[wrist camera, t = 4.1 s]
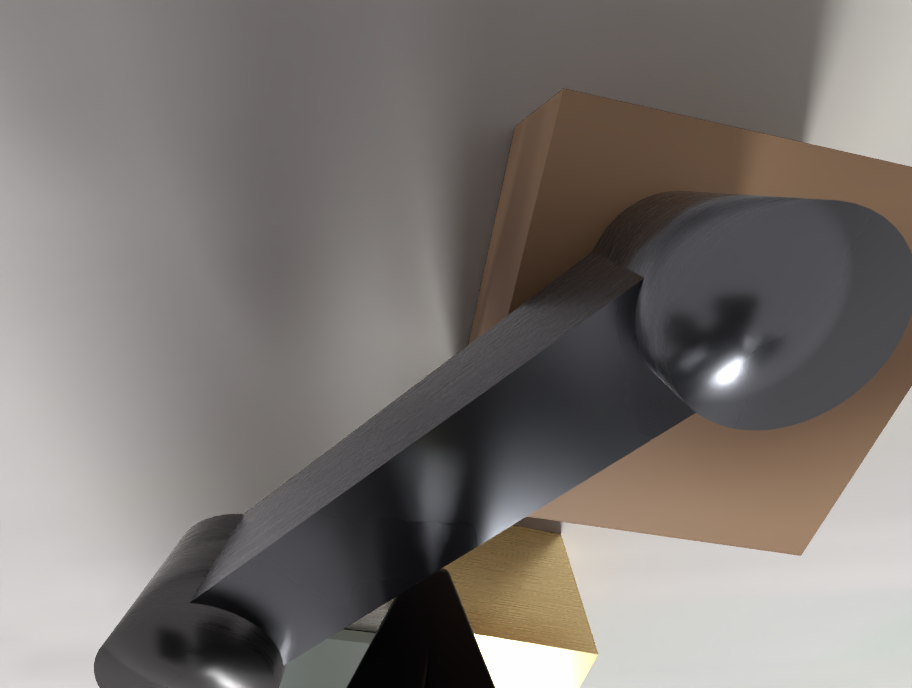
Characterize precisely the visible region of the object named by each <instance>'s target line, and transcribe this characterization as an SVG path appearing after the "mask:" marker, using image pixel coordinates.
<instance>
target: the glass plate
mask: <svg viewBox="0 0 912 688" xmlns="http://www.w3.org/2000/svg"><path fill="white" fill-rule="evenodd" d="M375 634H376V633H370V632H362V631H353V630H344V629H342V630H341V631H339V632H337V633H336V634H334V635H333V636H331V637H329V638H328V639H326V640H324V641H323V642H321V643H320V644H318V645H316V646H315V647H313V648H311V649H310V650H308V651H306V652H305V653H303V654H302V655H300V656H298V657H297V658H295V659H293V660H292V661H290V662H289V663H288V664H287V667H286V670H285V672H284V675H283V678H282V681H281V684H280V687H279V688H347V686H348V684H349V682H350V680H351V678H352V676H353V675H354V673H355V671H356V669H357V667H358V665H359V663H360V662H361V660H362V658H363V656H364V654H365V652H366V650H367V649H368V647H369V645H370V643H371V641H372V639H373V637H374V636H375Z"/></svg>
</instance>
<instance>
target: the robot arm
mask: <svg viewBox="0 0 912 688" xmlns="http://www.w3.org/2000/svg"><path fill="white" fill-rule="evenodd" d="M347 688H496V687H495V684H494V682H493V680H492V677H491V675H490V672H489V670H488V667H487V665H486V662H485V660H484V657H483V655H482V652H481V650H480V647H479V645H478V642H477V640H476V637H475V635H474V632H473V630H472V627H471V625H470V622H469V620H468V618H467V615H466V613H465V610H464V608H463V605H462V603H461V600H460V598H459V595H458V593H457V590H456V588H455V585H454V583H453V580H452V578H451V575H450V573H449V572H448V570H446V569H444V568H442V569H440V570H439V571H437V572H435V573H434V574H432V575H430V576H429V577H427V578H426V579H424V580H422V581H421V582H419V583H417V584H416V585H414V586H412V587H411V588H409V589H408V590H406V591H404V592H403V593H401V594H399V595H398V596H396V597H395V599H394V600H393V602H392V604H391V606H390V608H389V610H388V611H387V613H386V615H385V617H384V619H383V621H382V623H381V624H380V626H379V628H378V630H377V632H376V634H375V636H374V637H373V639H372V641H371V643H370V645H369V647H368V649H367V650H366V652H365V654H364V656H363V658H362V660H361V662H360V663H359V665H358V667H357V669H356V671H355V673H354V675H353V676H352V678H351V680H350V682H349V684H348V686H347Z"/></svg>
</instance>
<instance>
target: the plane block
mask: <svg viewBox="0 0 912 688" xmlns="http://www.w3.org/2000/svg"><path fill="white" fill-rule="evenodd" d="M668 191H694V192H710V193H726V194H742V195H758V196H775V197H791V198H807V199H823V200H840V201H845V202H850V203H855V204H858V205H861V206H864V207H867V208H869V209H872V210H873V211H875V212H877V213H878V214H880V215H882V216H884V217H885V218H886V219H887V220H888V221H889V222H891V223H892V224H893V225H894V226H895V227H896V228H897V230H898V231H899V232H900V233H901V235H902V236H903V237H904V239H905V241H906V243H907V245H908V247H909V249H910V251H911V254H912V167H910V166H905V165H901V164H897V163H892V162H888V161H883V160H879V159H874V158H870V157H865V156H861V155H857V154H852V153H848V152H843V151H839V150H834V149H830V148H826V147H821V146H817V145H812V144H808V143H803V142H799V141H795V140H790V139H786V138H781V137H777V136H772V135H768V134H764V133H759V132H755V131H750V130H746V129H741V128H737V127H733V126H728V125H724V124H719V123H715V122H710V121H706V120H701V119H697V118H693V117H688V116H684V115H679V114H675V113H670V112H666V111H662V110H657V109H653V108H648V107H644V106H639V105H635V104H631V103H626V102H622V101H617V100H613V99H608V98H604V97H600V96H595V95H591V94H586V93H582V92H577V91H573V90H569V89H562V90H561V91H560V92H558V93H557V94H556V95H555V96H553V97H552V98H551V99H550V100H548V101H547V102H546V103H544V104H543V105H542V106H541V107H539V108H538V109H537V110H535V111H534V112H533V113H532V114H530V115H529V116H528V117H527V118H525V119H524V120H523V121H521V122H520V123H519V124H518V125H516V126H515V129H514V134H513V138H512V143H511V148H510V152H509V157H508V161H507V166H506V171H505V175H504V180H503V185H502V189H501V194H500V199H499V203H498V208H497V212H496V217H495V222H494V226H493V231H492V236H491V240H490V245H489V250H488V254H487V259H486V263H485V268H484V273H483V277H482V282H481V287H480V291H479V296H478V301H477V305H476V310H475V315H474V319H473V324H472V328H471V333H470V338H469V342H468V345H469V344H471V343H472V342H473V341H474V340H476V339H477V338H478V337H480V336H481V335H482V334H484V333H485V332H486V331H488V330H489V329H490V328H492V327H493V326H494V325H496V324H497V323H498V322H500V321H501V320H502V319H504V318H505V317H506V316H508V315H509V314H510V313H512V312H513V311H514V310H516V309H517V308H518V307H520V306H521V305H522V304H524V303H525V302H526V301H528V300H529V299H530V298H532V297H533V296H534V295H536V294H537V293H538V292H540V291H541V290H542V289H544V288H545V287H546V286H547V285H549V284H550V283H551V282H553V281H554V280H555V279H557V278H558V277H559V276H561V275H562V274H563V273H565V272H566V271H567V270H569V269H570V268H571V267H573V266H574V265H575V264H577V263H578V262H579V261H581V260H582V259H583V258H585V257H586V256H587V255H589V254H590V253H591V252H593V251H594V248H595V246H596V244H597V242H598V240H599V238H600V237H601V235H602V234H603V232H604V231H605V229H606V228H607V227H608V225H609V224H610V223H611V222H612V221H613V220H614V219H615V218H616V217H617V216H618V215H619V214H620V213H622V212H623V211H624V210H625V209H627V208H628V207H630V206H631V205H633V204H634V203H636V202H638V201H640V200H642V199H644V198H646V197H649V196H652V195H654V194H658V193H663V192H668ZM911 386H912V313H911V317H910V320H909V323H908V325H907V327H906V330H905V332H904V334H903V336H902V338H901V340H900V342H899V344H898V345H897V347H896V349H895V350H894V352H893V353H892V355H891V356H890V358H889V359H888V360H887V362H886V363H885V364H884V366H883V367H882V368H881V369H880V370H879V371H878V372H877V373H876V375H875V376H874V377H873V378H872V379H871V380H870V381H869V382H868V383H866V384H865V385H864V386H863V387H862V388H861V389H860V390H859V391H857V392H856V393H855V394H853V395H852V396H851V397H850V398H848V399H847V400H845V401H844V402H842V403H841V404H839V405H838V406H836V407H834V408H833V409H831V410H829V411H827V412H825V413H823V414H821V415H819V416H817V417H815V418H812V419H810V420H807V421H805V422H802V423H798V424H795V425H792V426H788V427H783V428H778V429H772V430H760V431H756V430H740V429H733V428H729V427H725V426H722V425H718V424H716V423H714V422H711V421H709V420H707V419H705V418H704V417H702V416H701V415H699V414H697V413H695V414H693V415H691V416H690V417H688V418H687V419H685V420H683V421H682V422H680V423H678V424H677V425H675V426H674V427H672V428H670V429H669V430H667V431H665V432H664V433H662V434H660V435H659V436H657V437H656V438H654V439H652V440H651V441H649V442H647V443H646V444H644V445H643V446H641V447H639V448H638V449H636V450H634V451H633V452H631V453H629V454H628V455H626V456H625V457H623V458H621V459H620V460H618V461H616V462H615V463H613V464H612V465H610V466H608V467H607V468H605V469H603V470H602V471H600V472H598V473H597V474H595V475H594V476H592V477H590V478H589V479H587V480H585V481H584V482H582V483H581V484H579V485H577V486H576V487H574V488H572V489H571V490H569V491H567V492H566V493H564V494H563V495H561V496H559V497H558V498H556V499H554V500H553V501H551V502H550V503H548V504H546V505H545V506H543V507H541V508H540V509H538V510H536V511H535V512H533V513H532V514H530V515H528V516H527V517H533V518H540V519H547V520H554V521H561V522H568V523H575V524H582V525H589V526H596V527H603V528H610V529H617V530H624V531H631V532H638V533H645V534H652V535H659V536H666V537H673V538H680V539H687V540H694V541H701V542H708V543H715V544H722V545H729V546H736V547H743V548H750V549H757V550H764V551H771V552H779V553H786V554H793V555H800V556H801V555H802V553H803V552H804V550H805V548H806V547H807V545H808V544H809V542H810V541H811V539H812V538H813V536H814V535H815V533H816V532H817V530H818V529H819V527H820V525H821V524H822V522H823V521H824V519H825V518H826V516H827V515H828V513H829V512H830V510H831V509H832V507H833V506H834V504H835V502H836V501H837V499H838V498H839V496H840V495H841V493H842V492H843V490H844V489H845V487H846V486H847V484H848V483H849V481H850V480H851V478H852V476H853V475H854V473H855V472H856V470H857V469H858V467H859V466H860V464H861V463H862V461H863V460H864V458H865V457H866V455H867V453H868V452H869V450H870V449H871V447H872V446H873V444H874V443H875V441H876V440H877V438H878V437H879V435H880V434H881V432H882V430H883V429H884V427H885V426H886V424H887V423H888V421H889V420H890V418H891V417H892V415H893V414H894V412H895V411H896V409H897V408H898V406H899V404H900V403H901V401H902V400H903V398H904V397H905V395H906V394H907V392H908V391H909V389H910V388H911Z"/></svg>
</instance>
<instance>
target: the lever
mask: <svg viewBox="0 0 912 688" xmlns="http://www.w3.org/2000/svg"><path fill="white" fill-rule="evenodd" d="M911 313H912V254H911V251H910V249H909V247H908V245H907V243H906V241H905V239H904V237H903V236H902V235H901V233H900V232H899V231H898V230H897V228H896V227H895V226H894V225H893V224H892V223H891V222H889V221H888V220H887V219H886V218H885V217H884V216H882V215H880V214H878V213H877V212H875V211H873V210H872V209H869V208H867V207H864V206H861V205H858V204H855V203H850V202H845V201H840V200H823V199H807V198H791V197H775V196H758V195H742V194H726V193H710V192H694V191H668V192H663V193H658V194H654V195H652V196H649V197H646V198H644V199H642V200H640V201H638V202H636V203H634V204H633V205H631V206H630V207H628V208H627V209H625V210H624V211H623V212H622V213H620V214H619V215H618V216H617V217H616V218H615V219H614V220H613V221H612V222H611V223H610V224H609V225H608V227H607V228H606V229H605V231H604V232H603V234H602V235H601V237H600V238H599V240H598V242H597V244H596V246H595V248H594V251H593V252H591V253H590V254H589V255H587V256H586V257H585V258H583V259H582V260H581V261H579V262H578V263H577V264H575V265H574V266H573V267H571V268H570V269H569V270H567V271H566V272H565V273H563V274H562V275H561V276H559V277H558V278H557V279H555V280H554V281H553V282H551V283H550V284H549V285H547V286H546V287H545V288H544V289H542V290H541V291H540V292H538V293H537V294H536V295H534V296H533V297H532V298H530V299H529V300H528V301H526V302H525V303H524V304H522V305H521V306H520V307H518V308H517V309H516V310H514V311H513V312H512V313H510V314H509V315H508V316H506V317H505V318H504V319H502V320H501V321H500V322H498V323H497V324H496V325H494V326H493V327H492V328H490V329H489V330H488V331H486V332H485V333H484V334H482V335H481V336H480V337H478V338H477V339H476V340H474V341H473V342H472V343H471V344H469V345H468V346H467V347H465V348H464V349H463V350H461V351H460V352H459V353H457V354H456V355H455V356H453V357H452V358H451V359H449V360H448V361H447V362H445V363H444V364H443V365H441V366H440V367H439V368H437V369H436V370H435V371H433V372H432V373H431V374H429V375H428V376H427V377H425V378H424V379H423V380H421V381H420V382H419V383H417V384H416V385H415V386H413V387H412V388H411V389H409V390H408V391H407V392H405V393H404V394H403V395H401V396H400V397H399V398H398V399H396V400H395V401H394V402H392V403H391V404H390V405H388V406H387V407H386V408H384V409H383V410H382V411H380V412H379V413H378V414H376V415H375V416H374V417H372V418H371V419H370V420H368V421H367V422H366V423H364V424H363V425H362V426H360V427H359V428H358V429H356V430H355V431H354V432H352V433H351V434H350V435H348V436H347V437H346V438H344V439H343V440H342V441H340V442H339V443H338V444H336V445H335V446H334V447H332V448H331V449H330V450H328V451H327V452H326V453H325V454H323V455H322V456H321V457H319V458H318V459H317V460H315V461H314V462H313V463H311V464H310V465H309V466H307V467H306V468H305V469H303V470H302V471H301V472H299V473H298V474H297V475H295V476H294V477H293V478H291V479H290V480H289V481H287V482H286V483H285V484H283V485H282V486H281V487H279V488H278V489H277V490H275V491H274V492H273V493H271V494H270V495H269V496H267V497H266V498H265V499H263V500H262V501H261V502H259V503H258V504H257V505H255V506H254V507H253V508H252V509H250V510H249V511H248V512H246V513H245V514H244V515H243V514H229V515H221V516H215V517H212V518H209V519H206V520H204V521H202V522H199V523H198V524H196V525H195V526H193V527H192V528H191V529H190V530H189V531H187V533H186V534H185V535H184V536H183V538H182V539H181V540H180V542H179V543H178V544H177V546H176V547H175V549H174V550H173V551H172V553H171V554H170V555H169V557H168V558H167V559H166V561H165V562H164V563H163V565H162V566H161V567H160V569H159V570H158V571H157V573H156V574H155V575H154V577H153V578H152V579H151V581H150V582H149V583H148V585H147V586H146V588H145V589H144V590H143V592H142V593H141V594H140V596H139V597H138V598H137V600H136V601H135V602H134V604H133V605H132V606H131V608H130V609H129V610H128V612H127V613H126V614H125V616H124V617H123V618H122V620H121V621H120V622H119V624H118V625H117V626H116V628H115V629H114V631H113V632H112V633H111V635H110V636H109V637H108V639H107V640H106V641H105V643H104V644H103V645H102V647H101V648H100V649H99V651H98V653H97V655H96V658H95V662H94V673H95V678H96V681H97V683H98V685H99V687H100V688H279V687H280V684H281V681H282V678H283V675H284V672H285V670H286V667H287V664H288V663H289V662H290V661H292V660H293V659H295V658H297V657H298V656H300V655H302V654H303V653H305V652H306V651H308V650H310V649H311V648H313V647H315V646H316V645H318V644H320V643H321V642H323V641H324V640H326V639H328V638H329V637H331V636H333V635H334V634H336V633H337V632H339V631H341V630H342V629H344V628H346V627H347V626H349V625H351V624H352V623H354V622H355V621H357V620H359V619H360V618H362V617H364V616H365V615H367V614H368V613H370V612H372V611H373V610H375V609H377V608H378V607H380V606H381V605H383V604H385V603H386V602H388V601H390V600H391V599H393V598H395V597H396V596H398V595H399V594H401V593H403V592H404V591H406V590H408V589H409V588H411V587H412V586H414V585H416V584H417V583H419V582H421V581H422V580H424V579H426V578H427V577H429V576H430V575H432V574H434V573H435V572H437V571H439V570H440V569H442V568H443V567H445V566H447V565H448V564H450V563H452V562H453V561H455V560H457V559H458V558H460V557H461V556H463V555H465V554H466V553H468V552H470V551H471V550H473V549H474V548H476V547H478V546H479V545H481V544H483V543H484V542H486V541H488V540H489V539H491V538H492V537H494V536H496V535H497V534H499V533H501V532H502V531H504V530H505V529H507V528H509V527H510V526H512V525H514V524H515V523H517V522H519V521H520V520H522V519H523V518H525V517H527V516H528V515H530V514H532V513H533V512H535V511H536V510H538V509H540V508H541V507H543V506H545V505H546V504H548V503H550V502H551V501H553V500H554V499H556V498H558V497H559V496H561V495H563V494H564V493H566V492H567V491H569V490H571V489H572V488H574V487H576V486H577V485H579V484H581V483H582V482H584V481H585V480H587V479H589V478H590V477H592V476H594V475H595V474H597V473H598V472H600V471H602V470H603V469H605V468H607V467H608V466H610V465H612V464H613V463H615V462H616V461H618V460H620V459H621V458H623V457H625V456H626V455H628V454H629V453H631V452H633V451H634V450H636V449H638V448H639V447H641V446H643V445H644V444H646V443H647V442H649V441H651V440H652V439H654V438H656V437H657V436H659V435H660V434H662V433H664V432H665V431H667V430H669V429H670V428H672V427H674V426H675V425H677V424H678V423H680V422H682V421H683V420H685V419H687V418H688V417H690V416H691V415H693V414H695V413H697V414H699V415H701V416H702V417H704V418H705V419H707V420H709V421H711V422H714V423H716V424H718V425H722V426H725V427H729V428H733V429H740V430H756V431H760V430H772V429H778V428H783V427H788V426H792V425H795V424H798V423H802V422H805V421H807V420H810V419H812V418H815V417H817V416H819V415H821V414H823V413H825V412H827V411H829V410H831V409H833V408H834V407H836V406H838V405H839V404H841V403H842V402H844V401H845V400H847V399H848V398H850V397H851V396H852V395H853V394H855V393H856V392H857V391H859V390H860V389H861V388H862V387H863V386H864V385H865V384H866V383H868V382H869V381H870V380H871V379H872V378H873V377H874V376H875V375H876V373H877V372H878V371H879V370H880V369H881V368H882V367H883V366H884V364H885V363H886V362H887V360H888V359H889V358H890V356H891V355H892V353H893V352H894V350H895V349H896V347H897V345H898V344H899V342H900V340H901V338H902V336H903V334H904V332H905V330H906V327H907V325H908V323H909V320H910V317H911Z"/></svg>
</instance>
